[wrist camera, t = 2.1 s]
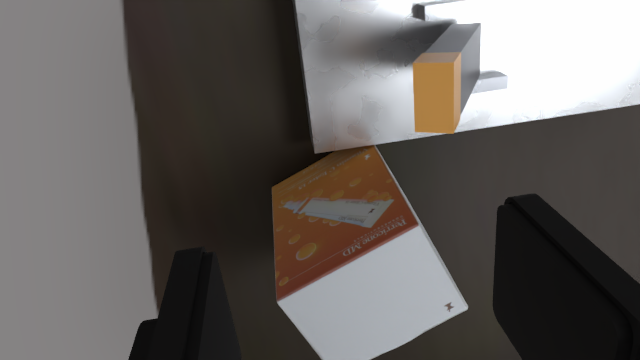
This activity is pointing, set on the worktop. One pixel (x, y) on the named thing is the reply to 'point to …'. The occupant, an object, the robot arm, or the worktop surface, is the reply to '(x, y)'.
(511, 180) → the worktop surface
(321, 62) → the panel
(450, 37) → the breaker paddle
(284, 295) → the small box
